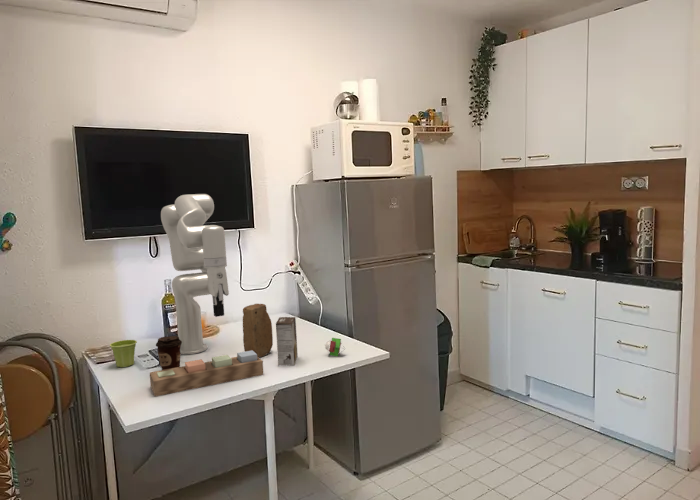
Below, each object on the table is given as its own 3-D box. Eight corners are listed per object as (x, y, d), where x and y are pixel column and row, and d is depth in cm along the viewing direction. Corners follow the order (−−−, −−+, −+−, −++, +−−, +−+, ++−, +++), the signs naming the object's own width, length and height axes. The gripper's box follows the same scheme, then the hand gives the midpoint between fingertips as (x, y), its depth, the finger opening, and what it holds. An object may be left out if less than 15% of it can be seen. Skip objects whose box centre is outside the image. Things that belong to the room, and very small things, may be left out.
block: (254, 359, 201) (251, 308, 198) (242, 356, 205) (239, 306, 203) (276, 352, 209) (273, 303, 207) (263, 349, 214) (260, 301, 211)
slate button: (242, 368, 182) (241, 357, 182) (237, 363, 187) (237, 352, 187) (257, 365, 185) (257, 354, 184) (252, 361, 190) (252, 350, 189)
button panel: (154, 396, 167) (153, 380, 167) (150, 386, 176) (149, 371, 175) (263, 374, 184) (262, 360, 183) (254, 366, 192) (253, 352, 192)
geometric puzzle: (336, 344, 209) (328, 332, 204) (350, 347, 205) (342, 334, 200) (327, 359, 205) (319, 346, 200) (342, 362, 201) (333, 349, 196)
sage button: (216, 373, 178) (215, 361, 178) (212, 368, 183) (211, 357, 183) (232, 370, 181) (231, 358, 180) (228, 365, 186) (227, 354, 185)
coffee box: (281, 358, 202) (279, 316, 200) (298, 357, 201) (296, 316, 200) (277, 366, 192) (275, 322, 191) (294, 365, 192) (292, 322, 190)
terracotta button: (188, 378, 174) (188, 366, 174) (185, 373, 179) (184, 362, 178) (206, 375, 177) (205, 363, 176) (202, 370, 181) (201, 359, 181)
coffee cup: (168, 378, 183) (165, 342, 182) (153, 375, 188) (150, 339, 186) (188, 371, 191) (185, 336, 189) (172, 367, 195) (170, 333, 194)
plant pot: (112, 363, 203) (110, 341, 202) (138, 359, 206) (136, 338, 205) (111, 370, 194) (109, 348, 193) (138, 366, 198) (137, 344, 197)
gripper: (232, 263, 174) (235, 318, 175) (220, 259, 187) (224, 310, 188) (209, 265, 170) (213, 321, 172) (199, 262, 183) (203, 313, 185)
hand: (219, 315), depth 180 cm, fingers closed
